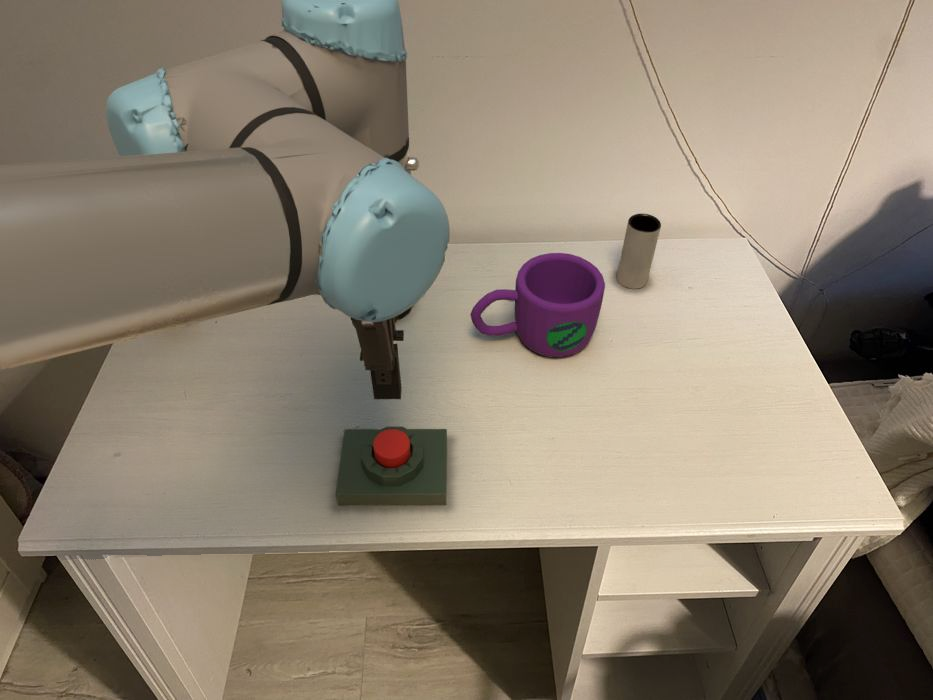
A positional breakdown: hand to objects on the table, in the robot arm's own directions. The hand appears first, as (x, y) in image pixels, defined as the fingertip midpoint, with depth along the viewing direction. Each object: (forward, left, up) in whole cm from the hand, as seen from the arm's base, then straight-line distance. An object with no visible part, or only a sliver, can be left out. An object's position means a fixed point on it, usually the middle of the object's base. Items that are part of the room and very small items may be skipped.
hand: (387, 393), depth 72 cm
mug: (+27, +8, -14) cm, 31 cm away
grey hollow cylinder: (+47, +9, -14) cm, 50 cm away
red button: (0, 0, -10) cm, 10 cm away
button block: (0, 0, -14) cm, 14 cm away
